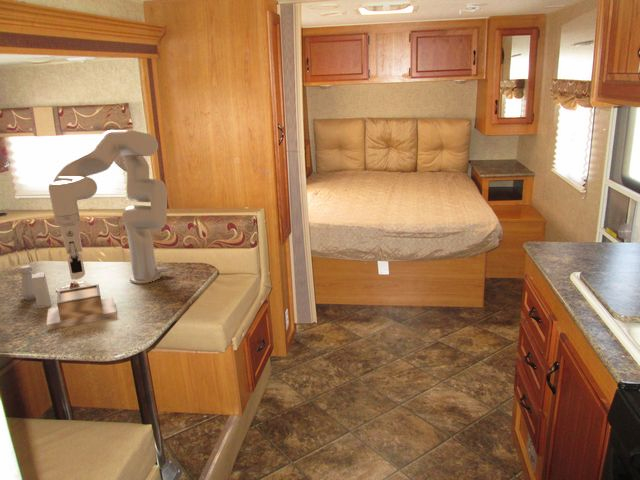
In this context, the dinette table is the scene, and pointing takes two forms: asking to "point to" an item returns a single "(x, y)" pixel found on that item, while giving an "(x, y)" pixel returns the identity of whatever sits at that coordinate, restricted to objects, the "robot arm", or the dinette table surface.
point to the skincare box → (41, 290)
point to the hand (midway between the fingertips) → (76, 268)
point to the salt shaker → (27, 283)
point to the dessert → (73, 285)
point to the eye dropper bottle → (79, 274)
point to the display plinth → (80, 320)
